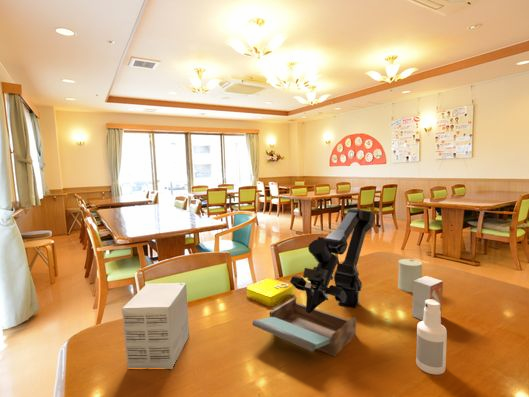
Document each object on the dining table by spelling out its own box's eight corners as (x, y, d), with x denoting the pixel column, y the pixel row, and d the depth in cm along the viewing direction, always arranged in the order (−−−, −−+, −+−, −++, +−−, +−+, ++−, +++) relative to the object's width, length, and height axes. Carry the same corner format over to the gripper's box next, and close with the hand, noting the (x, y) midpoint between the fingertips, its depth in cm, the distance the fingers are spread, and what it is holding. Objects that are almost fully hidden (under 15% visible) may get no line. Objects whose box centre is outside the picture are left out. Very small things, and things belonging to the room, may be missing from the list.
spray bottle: (411, 359, 86) (412, 297, 84) (434, 357, 86) (436, 295, 84) (425, 376, 79) (427, 309, 77) (451, 374, 79) (454, 307, 77)
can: (422, 286, 134) (423, 259, 133) (420, 294, 126) (421, 265, 125) (399, 282, 139) (400, 256, 138) (396, 290, 131) (396, 262, 130)
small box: (429, 323, 104) (430, 286, 102) (411, 316, 109) (412, 280, 108) (442, 316, 108) (443, 280, 107) (424, 309, 114) (425, 275, 112)
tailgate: (273, 315, 103) (252, 319, 95) (330, 337, 89) (312, 344, 81) (272, 321, 102) (252, 326, 95) (329, 344, 89) (311, 352, 81)
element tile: (269, 286, 141) (268, 276, 140) (295, 295, 131) (295, 284, 130) (244, 297, 130) (244, 286, 130) (271, 308, 120) (271, 296, 119)
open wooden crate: (293, 313, 114) (293, 297, 113) (355, 335, 98) (355, 317, 98) (270, 328, 104) (269, 311, 103) (334, 356, 88) (334, 336, 88)
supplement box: (150, 335, 102) (146, 282, 100) (190, 335, 102) (187, 282, 100) (125, 371, 85) (119, 307, 83) (173, 370, 85) (169, 307, 82)
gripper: (292, 252, 107) (272, 294, 100) (342, 262, 94) (323, 311, 88) (305, 268, 114) (288, 308, 107) (353, 279, 101) (337, 325, 94)
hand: (307, 312), depth 99 cm, fingers closed
